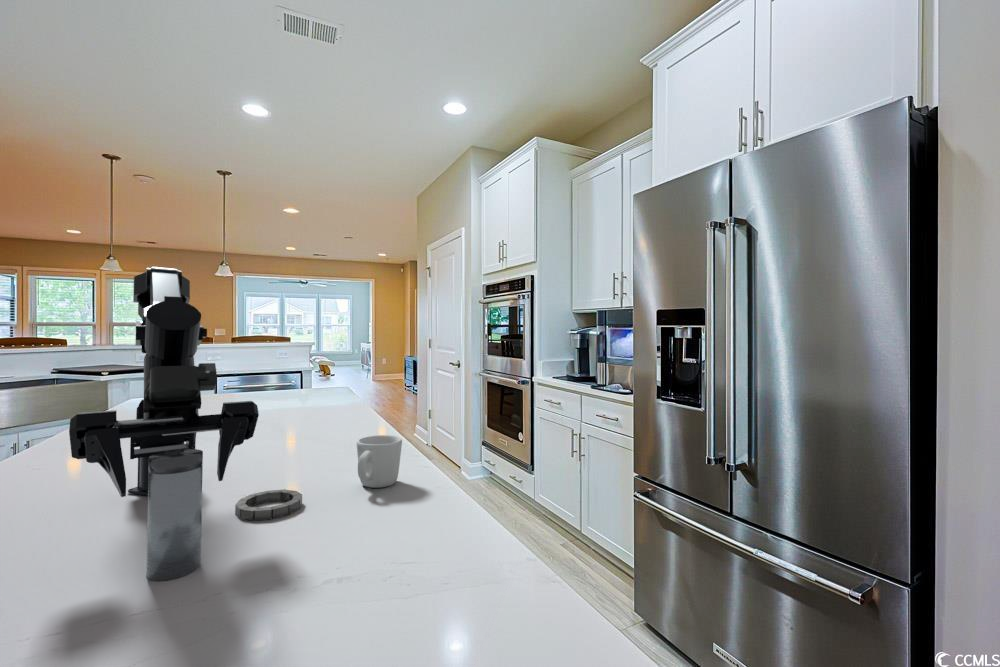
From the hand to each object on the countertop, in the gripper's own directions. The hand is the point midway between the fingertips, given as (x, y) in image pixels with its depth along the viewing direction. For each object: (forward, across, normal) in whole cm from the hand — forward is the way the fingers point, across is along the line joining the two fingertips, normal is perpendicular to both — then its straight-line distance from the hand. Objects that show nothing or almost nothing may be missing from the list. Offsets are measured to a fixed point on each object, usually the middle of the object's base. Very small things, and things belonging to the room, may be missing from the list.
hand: (174, 486), depth 53 cm
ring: (-2, +13, +15) cm, 19 cm away
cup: (-2, +30, +15) cm, 34 cm away
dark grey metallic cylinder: (+7, 0, +5) cm, 9 cm away
